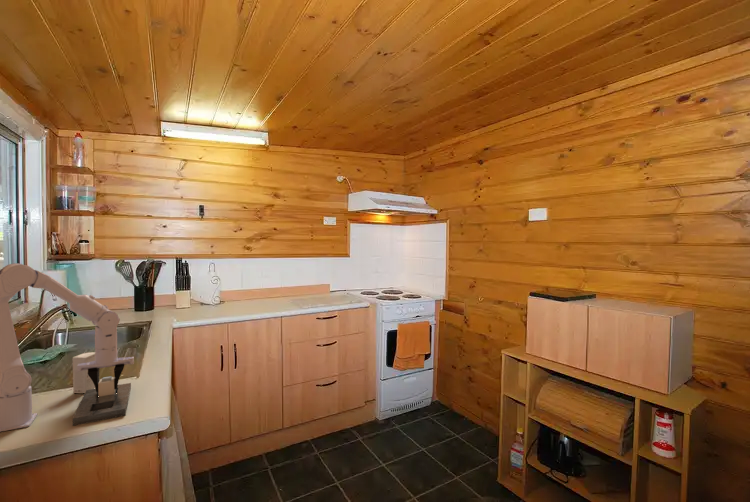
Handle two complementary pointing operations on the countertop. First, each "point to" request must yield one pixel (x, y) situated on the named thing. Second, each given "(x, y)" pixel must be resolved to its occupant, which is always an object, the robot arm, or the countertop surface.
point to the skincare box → (82, 373)
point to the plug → (106, 386)
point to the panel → (102, 405)
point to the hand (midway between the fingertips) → (107, 389)
